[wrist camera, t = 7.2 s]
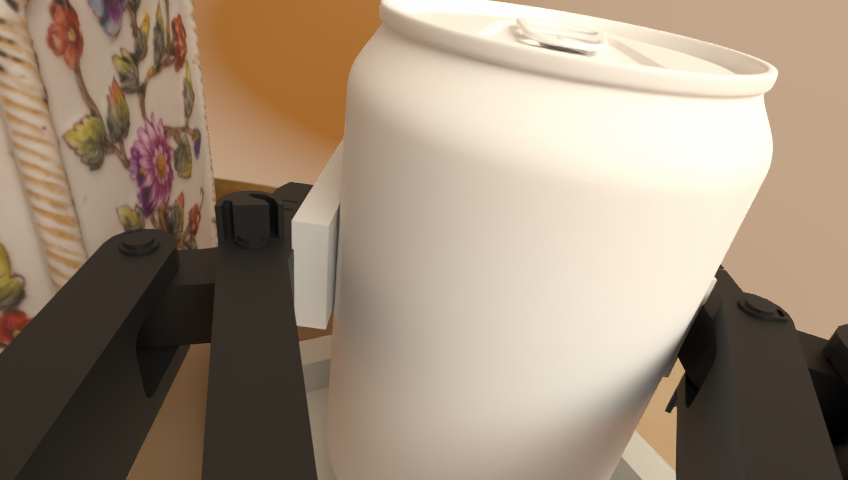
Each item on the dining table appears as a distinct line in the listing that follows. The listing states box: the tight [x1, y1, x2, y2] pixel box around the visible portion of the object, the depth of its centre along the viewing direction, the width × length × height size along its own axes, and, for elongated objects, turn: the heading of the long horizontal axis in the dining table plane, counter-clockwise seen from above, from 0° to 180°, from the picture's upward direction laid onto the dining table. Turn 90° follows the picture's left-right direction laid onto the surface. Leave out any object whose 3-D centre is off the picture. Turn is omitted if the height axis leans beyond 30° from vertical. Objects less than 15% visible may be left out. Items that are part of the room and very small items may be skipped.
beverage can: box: [327, 0, 778, 480], centre depth 13 cm, size 8×8×12 cm
